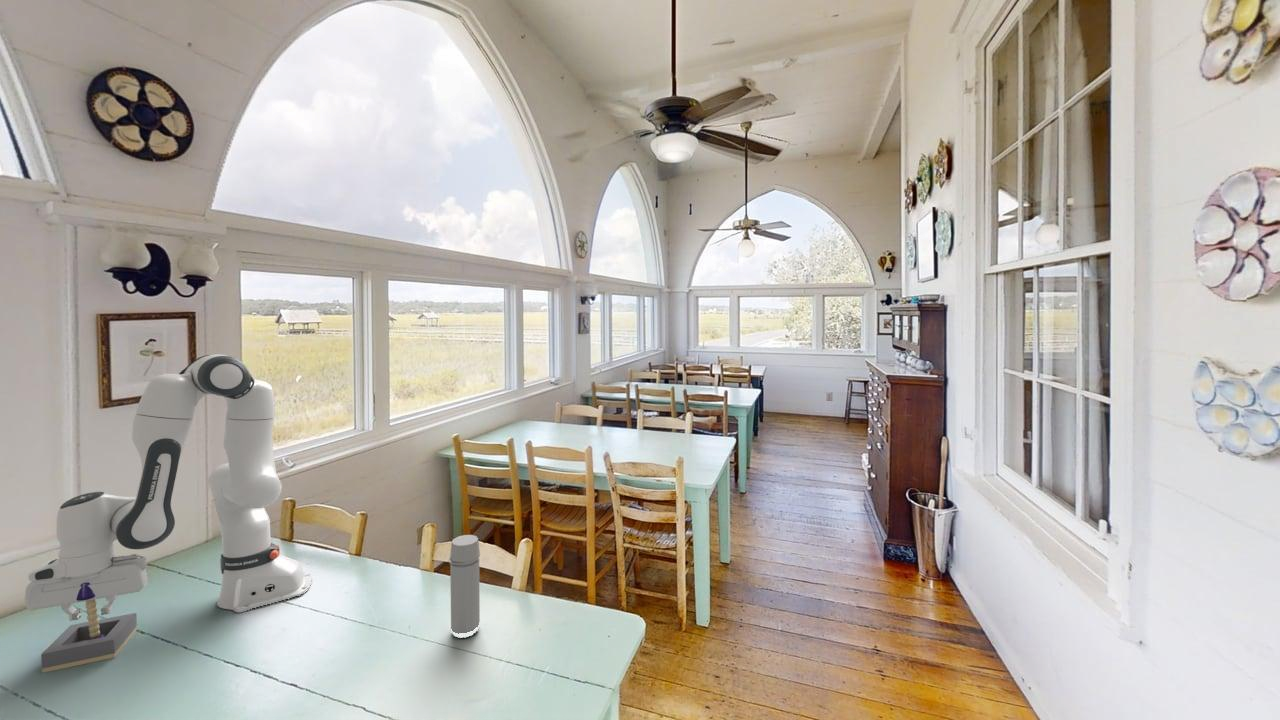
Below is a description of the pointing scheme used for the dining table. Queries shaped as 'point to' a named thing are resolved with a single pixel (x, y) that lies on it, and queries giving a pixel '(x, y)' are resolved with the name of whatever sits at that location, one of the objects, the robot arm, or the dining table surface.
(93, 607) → the toy lamp
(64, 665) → the socket block
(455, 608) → the water bottle
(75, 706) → the dining table surface
